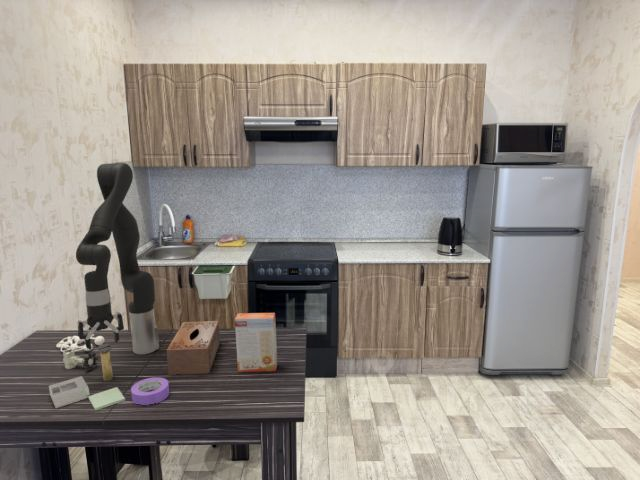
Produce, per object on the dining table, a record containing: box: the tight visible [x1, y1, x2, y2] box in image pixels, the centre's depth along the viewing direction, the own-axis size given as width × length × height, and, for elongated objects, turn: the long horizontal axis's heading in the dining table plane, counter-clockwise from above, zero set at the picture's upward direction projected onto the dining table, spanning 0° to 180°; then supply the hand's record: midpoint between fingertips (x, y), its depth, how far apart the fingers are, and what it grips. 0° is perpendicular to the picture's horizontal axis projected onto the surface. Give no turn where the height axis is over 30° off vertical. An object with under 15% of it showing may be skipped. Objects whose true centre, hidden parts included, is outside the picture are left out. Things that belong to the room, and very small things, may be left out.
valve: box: [62, 349, 99, 372], centre depth 169 cm, size 7×7×12 cm
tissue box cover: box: [166, 320, 221, 376], centre depth 176 cm, size 26×14×10 cm, turn 4°
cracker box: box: [234, 312, 278, 373], centre depth 165 cm, size 14×6×21 cm, turn 89°
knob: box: [97, 343, 114, 382], centre depth 160 cm, size 4×4×12 cm
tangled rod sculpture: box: [55, 333, 105, 353], centre depth 187 cm, size 19×14×4 cm
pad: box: [87, 386, 126, 411], centre depth 148 cm, size 9×9×1 cm
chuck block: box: [48, 375, 91, 409], centre depth 150 cm, size 10×10×4 cm
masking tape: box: [130, 376, 170, 406], centre depth 150 cm, size 12×12×4 cm
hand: (102, 345), depth 159 cm, fingers open, 8 cm apart
